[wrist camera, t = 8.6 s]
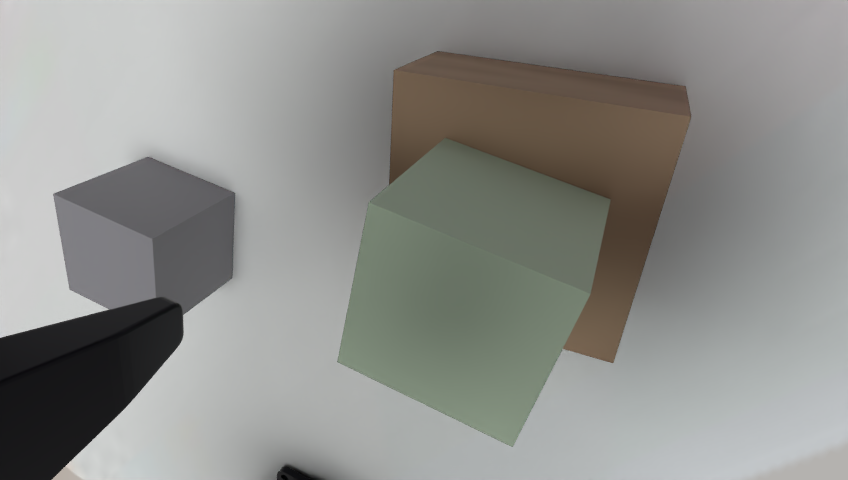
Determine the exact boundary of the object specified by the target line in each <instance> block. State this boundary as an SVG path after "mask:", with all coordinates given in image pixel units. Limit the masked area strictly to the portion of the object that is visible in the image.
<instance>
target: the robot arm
mask: <svg viewBox="0 0 848 480" xmlns="http://www.w3.org/2000/svg"><path fill="white" fill-rule="evenodd" d="M183 333H184V332H183V308H182V306H181V304H179V303H177V302H175V301H173V300H171V299H169V298H167V297H156V298H152V299H148V300H145V301H141V302H137V303H133V304H129V305H125V306H121V307H118V308H114V309H110V310H106V311H102V312H98V313H94V314H91V315H87V316H83V317H79V318H75V319H71V320H67V321H64V322H60V323H56V324H52V325H48V326H44V327H40V328H37V329H33V330H29V331H25V332H21V333H17V334H13V335H10V336H6V337H2V338H0V480H52V479H53V477H55V476H56V475H57V474H58V473H59V472H60V471H61V470H62V469H63V467H65V466H66V465H67V464H68V463H69V462H70V461H71V460H72V459H73V458H74V457H75V456H76V455H77V454H78V453H79V452H80V451H81V450H83V449H84V448H85V447H86V446H87V445H88V444H89V443H90V442H91V441H92V440H93V439H94V438H95V437H96V436H97V435H98V434H99V433H100V432H101V431H102V430H103V429H104V428H105V427H106V426H107V425H108V424H109V423H110V422H111V421H113V420H114V419H115V418H116V417H117V416H118V415H119V414H120V413H121V412H122V411H123V410H124V409H125V408H126V407H127V405H128V404H129V403H130V402H131V401H132V400H133V399H134V398H135V397H136V395H137V394H138V393H139V392H140V391H141V390H142V388H143V387H144V386H145V385H146V384H147V382H148V381H149V380H150V379H151V378H152V377H153V375H154V374H155V373H156V372H157V371H158V370H159V368H160V367H161V366H162V365H163V364H164V363H165V361H166V360H167V359H168V358H169V357H170V355H171V354H172V353H173V352H174V351H175V350H176V348H177V347H178V346H179V344H180V343H181V341H182V338H183ZM277 480H311V479H309V478H307V477H306V476H304V475H302V474H300V473H298V472H296V471H294V470H292V469H290V468H288V467H282V468H281V469H280V471H279V472H278V474H277Z"/></svg>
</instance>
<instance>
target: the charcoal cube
mask: <svg viewBox="0 0 848 480" xmlns="http://www.w3.org/2000/svg"><path fill="white" fill-rule="evenodd" d="M53 196H54V201H55V207H56V213H57V219H58V225H59V231H60V236H61V242H62V248H63V254H64V260H65V265H66V271H67V277H68V283H69V289H70V290H72V291H74V292H76V293H78V294H80V295H82V296H84V297H86V298H88V299H90V300H92V301H94V302H96V303H98V304H100V305H102V306H104V307H106V308H108V309H114V308H118V307H121V306H125V305H129V304H133V303H137V302H141V301H145V300H148V299H152V298H156V297H167V298H169V299H171V300H173V301H175V302H177V303H179V304H181V306H182V308H183V315H184V314H185V313H186V312H188V311H189V310H190V309H192V308H193V307H194V306H196V305H197V304H198V303H200V302H201V301H202V300H204V299H205V298H206V297H208V296H209V295H210V294H212V293H213V292H214V291H216V290H217V289H218V288H220V287H221V286H222V285H224V284H225V283H226V282H228V281H229V280H230V279H232V271H233V240H234V209H235V193H234V192H231V191H229V190H227V189H224V188H222V187H219V186H217V185H215V184H212V183H210V182H207V181H205V180H203V179H200V178H198V177H195V176H193V175H191V174H188V173H186V172H183V171H181V170H179V169H176V168H174V167H171V166H169V165H167V164H164V163H162V162H159V161H157V160H155V159H152V158H150V157H147V158H144V159H142V160H139V161H136V162H134V163H131V164H129V165H126V166H124V167H121V168H118V169H116V170H113V171H111V172H108V173H106V174H103V175H101V176H98V177H95V178H93V179H90V180H88V181H85V182H83V183H80V184H77V185H75V186H72V187H70V188H67V189H65V190H62V191H60V192H57V193H54V194H53Z"/></svg>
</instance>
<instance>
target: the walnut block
mask: <svg viewBox="0 0 848 480" xmlns="http://www.w3.org/2000/svg"><path fill="white" fill-rule="evenodd" d="M690 119H691V113H690V107H689V102H688V97H687V92H686V86H679V85H672V84H665V83H658V82H651V81H644V80H637V79H630V78H623V77H616V76H609V75H601V74H594V73H587V72H580V71H573V70H566V69H559V68H552V67H545V66H538V65H531V64H524V63H517V62H510V61H503V60H496V59H489V58H482V57H475V56H468V55H461V54H454V53H447V52H440V51H437V52H435V53H432V54H430V55H428V56H425V57H423V58H421V59H418V60H416V61H414V62H411V63H409V64H407V65H404V66H402V67H400V68H397V69H395V70H394V77H393V103H392V128H391V153H390V179H389V185H390V184H391V183H392V182H394V181H395V180H396V179H397V178H398V177H399V176H401V175H402V174H403V173H404V172H405V171H407V170H408V169H409V168H410V167H411V166H412V165H414V164H415V163H416V162H417V161H418V160H420V159H421V158H422V157H423V156H424V155H425V154H427V153H428V152H429V151H430V150H431V149H433V148H434V147H435V146H436V145H437V144H438V143H440V142H441V141H442V140H443V139H444V138H447V139H450V140H453V141H455V142H458V143H461V144H463V145H466V146H469V147H471V148H474V149H477V150H479V151H482V152H485V153H487V154H490V155H493V156H495V157H498V158H501V159H503V160H506V161H509V162H512V163H514V164H517V165H520V166H522V167H525V168H528V169H530V170H533V171H536V172H538V173H541V174H544V175H546V176H549V177H552V178H554V179H557V180H560V181H562V182H565V183H568V184H570V185H573V186H576V187H579V188H581V189H584V190H587V191H589V192H592V193H595V194H597V195H600V196H603V197H605V198H608V199H611V201H610V205H609V210H608V215H607V219H606V224H605V229H604V233H603V238H602V243H601V247H600V252H599V257H598V261H597V266H596V271H595V275H594V280H593V285H592V289H591V294H590V296H589V298H588V300H587V302H586V304H585V306H584V308H583V310H582V312H581V314H580V316H579V318H578V320H577V321H576V323H575V325H574V327H573V329H572V331H571V333H570V335H569V337H568V339H567V341H566V343H565V345H564V347H563V349H566V350H569V351H573V352H576V353H580V354H583V355H587V356H590V357H593V358H597V359H600V360H604V361H607V362H611V363H613V362H614V359H615V355H616V352H617V349H618V346H619V343H620V340H621V337H622V333H623V330H624V327H625V324H626V321H627V318H628V315H629V311H630V308H631V305H632V302H633V299H634V296H635V292H636V289H637V286H638V283H639V280H640V277H641V274H642V270H643V267H644V264H645V261H646V258H647V255H648V252H649V248H650V245H651V242H652V239H653V236H654V233H655V229H656V226H657V223H658V220H659V217H660V214H661V211H662V207H663V204H664V201H665V198H666V195H667V192H668V189H669V185H670V182H671V179H672V176H673V173H674V170H675V166H676V163H677V160H678V157H679V154H680V151H681V148H682V144H683V141H684V138H685V135H686V132H687V129H688V125H689V122H690Z"/></svg>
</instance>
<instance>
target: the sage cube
mask: <svg viewBox="0 0 848 480" xmlns="http://www.w3.org/2000/svg"><path fill="white" fill-rule="evenodd" d="M610 201H611V199H608V198H605V197H603V196H600V195H597V194H595V193H592V192H589V191H587V190H584V189H581V188H579V187H576V186H573V185H570V184H568V183H565V182H562V181H560V180H557V179H554V178H552V177H549V176H546V175H544V174H541V173H538V172H536V171H533V170H530V169H528V168H525V167H522V166H520V165H517V164H514V163H512V162H509V161H506V160H503V159H501V158H498V157H495V156H493V155H490V154H487V153H485V152H482V151H479V150H477V149H474V148H471V147H469V146H466V145H463V144H461V143H458V142H455V141H453V140H450V139H447V138H444V139H443V140H442V141H441V142H440V143H438V144H437V145H436V146H435V147H434V148H433V149H431V150H430V151H429V152H428V153H427V154H425V155H424V156H423V157H422V158H421V159H420V160H418V161H417V162H416V163H415V164H414V165H412V166H411V167H410V168H409V169H408V170H407V171H405V172H404V173H403V174H402V175H401V176H399V177H398V178H397V179H396V180H395V181H394V182H392V183H391V184H390V185H389V186H388V187H386V188H385V189H384V190H383V191H382V192H381V193H379V194H378V195H377V196H376V197H375V198H373V199H372V200H371V201H370V202H369V204H368V209H367V214H366V219H365V224H364V229H363V234H362V239H361V244H360V249H359V254H358V260H357V265H356V270H355V275H354V280H353V285H352V290H351V295H350V300H349V305H348V310H347V315H346V320H345V325H344V331H343V336H342V341H341V346H340V351H339V356H338V361H337V362H338V363H341V364H343V365H345V366H347V367H349V368H351V369H353V370H355V371H357V372H359V373H361V374H363V375H365V376H367V377H369V378H371V379H373V380H375V381H378V382H380V383H382V384H384V385H386V386H388V387H390V388H392V389H394V390H396V391H398V392H400V393H402V394H404V395H406V396H408V397H410V398H412V399H415V400H417V401H419V402H421V403H423V404H425V405H427V406H429V407H431V408H433V409H435V410H437V411H439V412H441V413H443V414H445V415H447V416H449V417H452V418H454V419H456V420H458V421H460V422H462V423H464V424H466V425H468V426H470V427H472V428H474V429H476V430H478V431H480V432H482V433H484V434H486V435H489V436H491V437H493V438H495V439H497V440H499V441H501V442H503V443H505V444H507V445H509V446H511V447H513V445H514V443H515V441H516V439H517V437H518V435H519V433H520V431H521V429H522V427H523V426H524V424H525V422H526V420H527V418H528V416H529V414H530V412H531V410H532V408H533V406H534V404H535V402H536V400H537V398H538V396H539V394H540V392H541V390H542V388H543V386H544V384H545V382H546V380H547V378H548V376H549V374H550V373H551V371H552V369H553V367H554V365H555V363H556V361H557V359H558V357H559V355H560V353H561V351H562V349H563V347H564V345H565V343H566V341H567V339H568V337H569V335H570V333H571V331H572V329H573V327H574V325H575V323H576V321H577V320H578V318H579V316H580V314H581V312H582V310H583V308H584V306H585V304H586V302H587V300H588V298H589V296H590V294H591V289H592V285H593V280H594V275H595V271H596V266H597V261H598V257H599V252H600V247H601V243H602V238H603V233H604V229H605V224H606V219H607V215H608V210H609V205H610Z"/></svg>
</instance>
